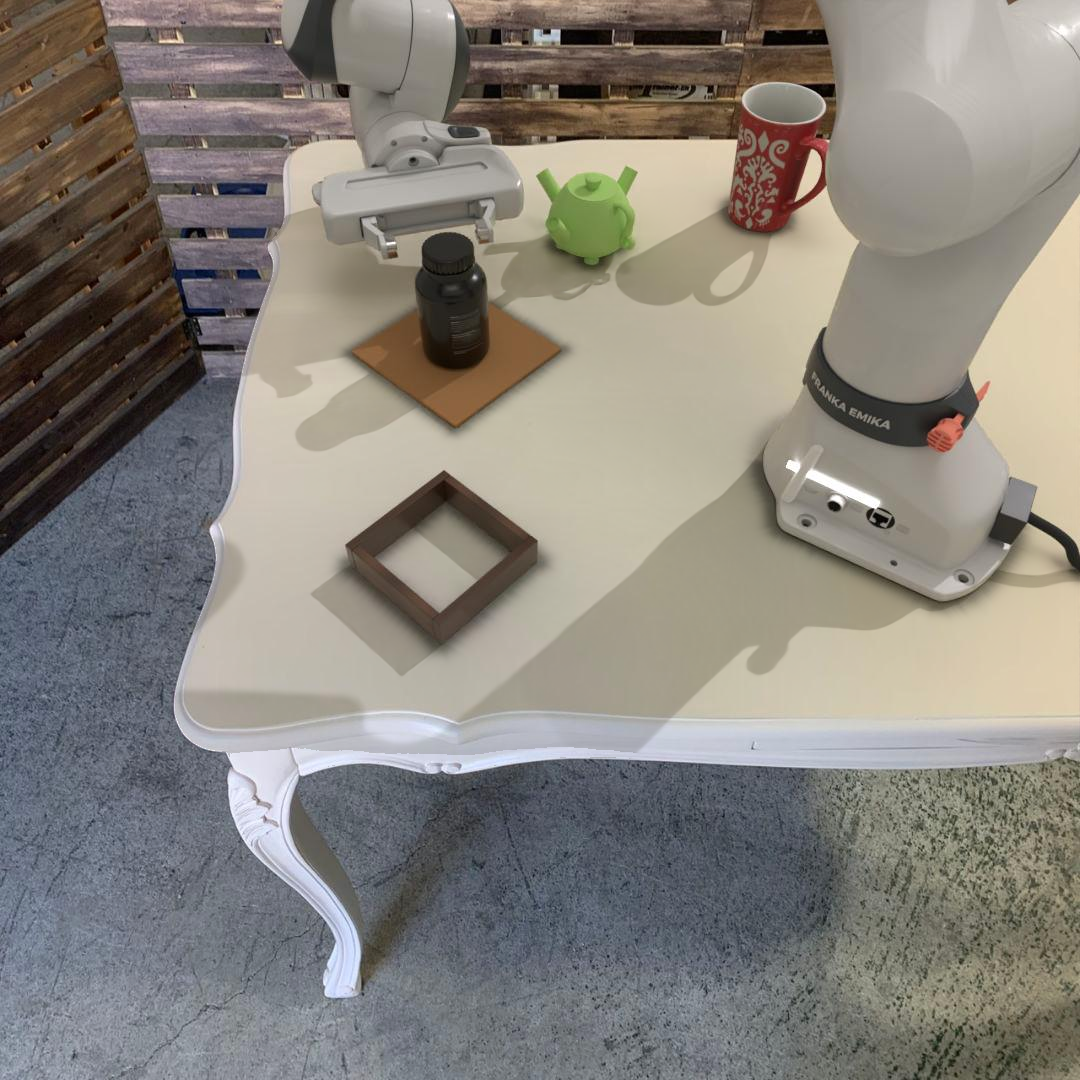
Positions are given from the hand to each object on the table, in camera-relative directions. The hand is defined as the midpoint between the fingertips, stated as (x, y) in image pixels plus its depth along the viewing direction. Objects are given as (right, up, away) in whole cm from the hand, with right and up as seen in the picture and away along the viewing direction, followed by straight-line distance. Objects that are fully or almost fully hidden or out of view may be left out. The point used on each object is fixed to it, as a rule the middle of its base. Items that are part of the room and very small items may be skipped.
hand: (438, 245), depth 86 cm
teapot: (+15, +6, +17) cm, 23 cm away
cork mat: (+1, -9, +5) cm, 11 cm away
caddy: (+2, -30, -10) cm, 32 cm away
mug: (+36, +9, +20) cm, 42 cm away
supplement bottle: (+1, -9, +5) cm, 10 cm away
